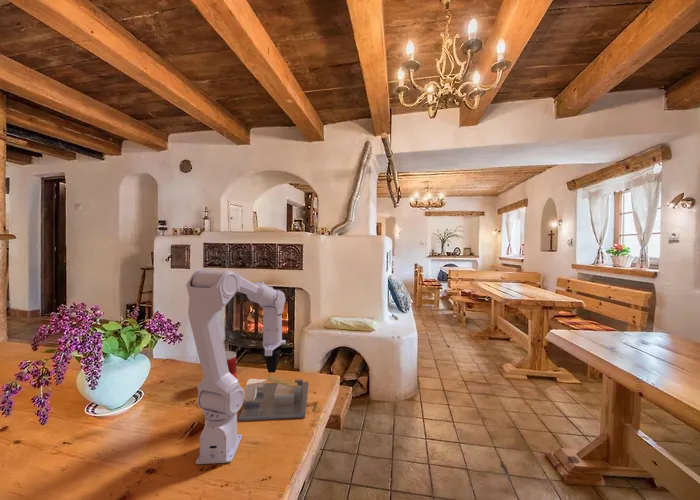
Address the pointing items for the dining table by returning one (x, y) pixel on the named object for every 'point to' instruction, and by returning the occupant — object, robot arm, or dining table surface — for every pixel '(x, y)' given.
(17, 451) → the dining table surface
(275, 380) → the strap
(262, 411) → the base plate
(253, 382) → the latch
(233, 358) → the canned food
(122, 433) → the dining table surface
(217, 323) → the robot arm
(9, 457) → the dining table surface
